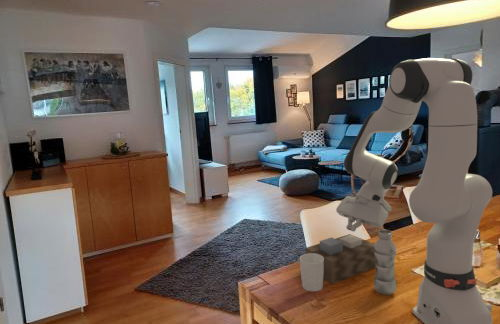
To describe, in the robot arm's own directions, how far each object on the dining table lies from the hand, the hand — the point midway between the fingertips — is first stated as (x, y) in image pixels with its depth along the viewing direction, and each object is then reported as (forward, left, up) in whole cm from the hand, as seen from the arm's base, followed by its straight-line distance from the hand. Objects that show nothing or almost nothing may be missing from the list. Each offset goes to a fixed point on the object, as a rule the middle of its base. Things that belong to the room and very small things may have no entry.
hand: (349, 229), depth 131 cm
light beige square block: (+1, 0, -8) cm, 8 cm away
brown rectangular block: (-2, +3, -14) cm, 14 cm away
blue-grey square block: (-4, +8, -6) cm, 11 cm away
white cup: (-14, +16, -14) cm, 26 cm away
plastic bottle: (-20, -6, -14) cm, 25 cm away
